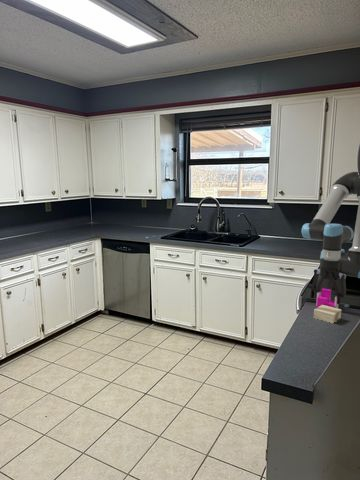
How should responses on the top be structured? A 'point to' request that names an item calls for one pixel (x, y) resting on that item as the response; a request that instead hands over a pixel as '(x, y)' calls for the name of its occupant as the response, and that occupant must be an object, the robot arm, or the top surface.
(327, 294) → the toy block
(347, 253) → the robot arm
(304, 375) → the top surface
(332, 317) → the riser
